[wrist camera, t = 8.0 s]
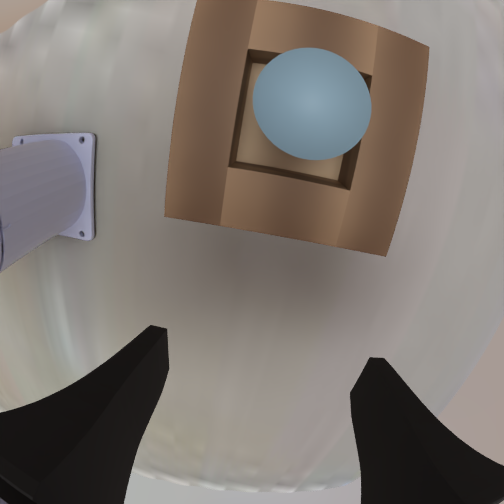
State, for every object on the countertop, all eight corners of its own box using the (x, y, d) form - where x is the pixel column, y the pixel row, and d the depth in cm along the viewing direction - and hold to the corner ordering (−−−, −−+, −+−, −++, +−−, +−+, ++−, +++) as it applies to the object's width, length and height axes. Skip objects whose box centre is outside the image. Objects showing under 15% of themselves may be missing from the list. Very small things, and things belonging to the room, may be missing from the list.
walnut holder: (185, 199, 18) (164, 216, 15) (212, 20, 13) (198, -4, 10) (366, 232, 18) (385, 256, 15) (402, 59, 13) (429, 47, 10)
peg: (259, 145, 16) (249, 154, 9) (264, 78, 14) (256, 42, 8) (329, 152, 15) (365, 167, 9) (334, 86, 14) (373, 59, 7)
